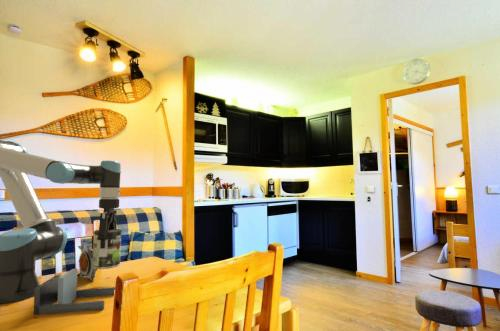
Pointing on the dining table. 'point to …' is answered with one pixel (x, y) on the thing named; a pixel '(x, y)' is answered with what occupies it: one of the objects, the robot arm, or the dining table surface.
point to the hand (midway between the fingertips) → (107, 253)
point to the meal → (86, 263)
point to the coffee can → (108, 250)
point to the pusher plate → (67, 287)
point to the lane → (49, 295)
